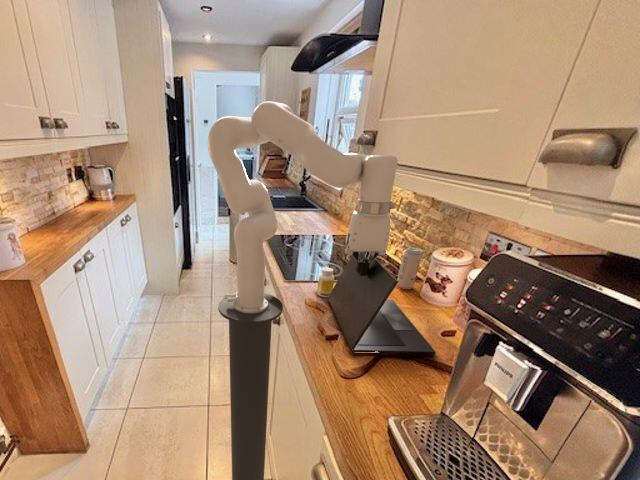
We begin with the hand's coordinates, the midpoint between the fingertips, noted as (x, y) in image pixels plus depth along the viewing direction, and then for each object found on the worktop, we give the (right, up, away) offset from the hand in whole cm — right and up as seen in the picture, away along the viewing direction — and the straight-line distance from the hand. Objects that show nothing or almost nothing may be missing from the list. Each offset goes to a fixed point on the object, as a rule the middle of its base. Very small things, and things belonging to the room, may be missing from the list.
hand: (361, 274), depth 91 cm
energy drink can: (+29, -2, +34) cm, 45 cm away
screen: (0, -5, +3) cm, 5 cm away
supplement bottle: (-3, -5, +28) cm, 28 cm away
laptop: (+7, -15, +8) cm, 18 cm away
